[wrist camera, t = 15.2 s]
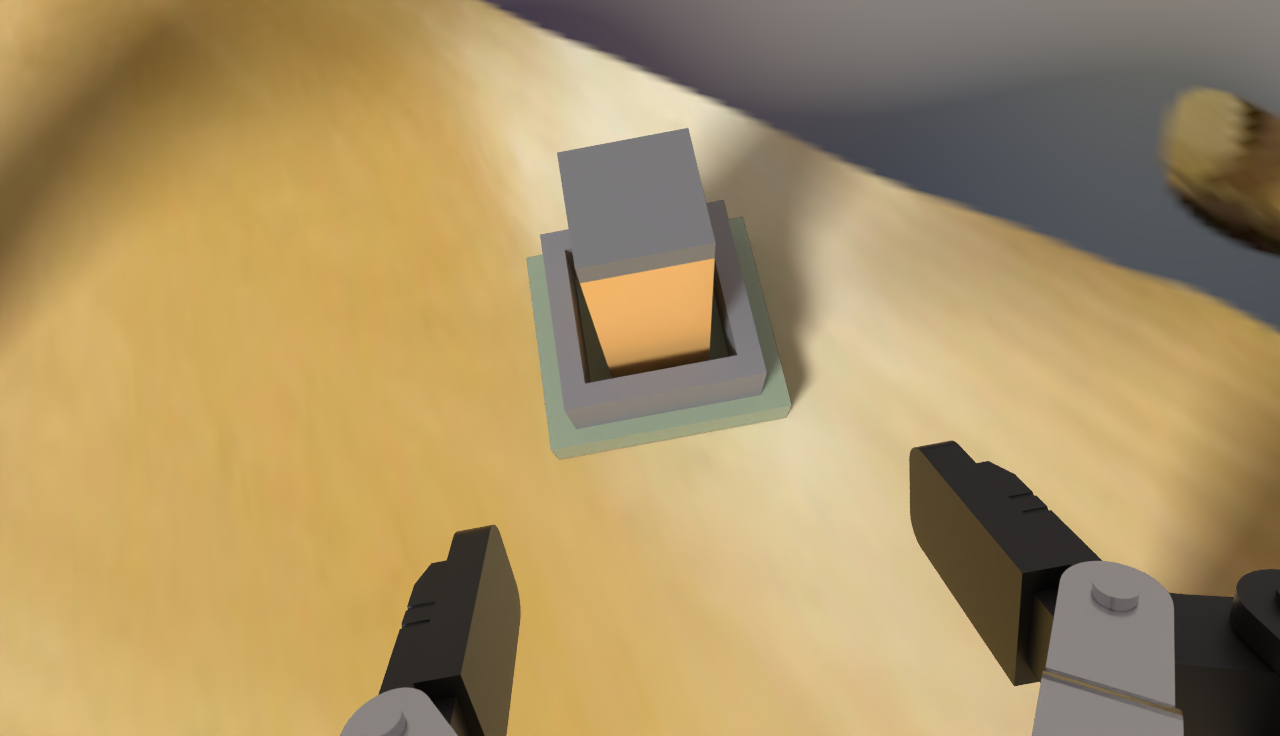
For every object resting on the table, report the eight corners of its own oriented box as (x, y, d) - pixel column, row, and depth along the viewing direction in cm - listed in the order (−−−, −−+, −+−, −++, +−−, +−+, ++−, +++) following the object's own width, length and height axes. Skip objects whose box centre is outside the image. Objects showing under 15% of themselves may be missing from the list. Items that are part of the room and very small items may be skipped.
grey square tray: (559, 459, 33) (536, 433, 29) (534, 276, 37) (511, 225, 32) (786, 417, 33) (801, 384, 28) (740, 237, 37) (746, 181, 32)
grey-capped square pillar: (613, 381, 32) (575, 269, 22) (599, 295, 34) (557, 152, 24) (708, 363, 32) (715, 242, 22) (690, 278, 34) (688, 128, 24)
